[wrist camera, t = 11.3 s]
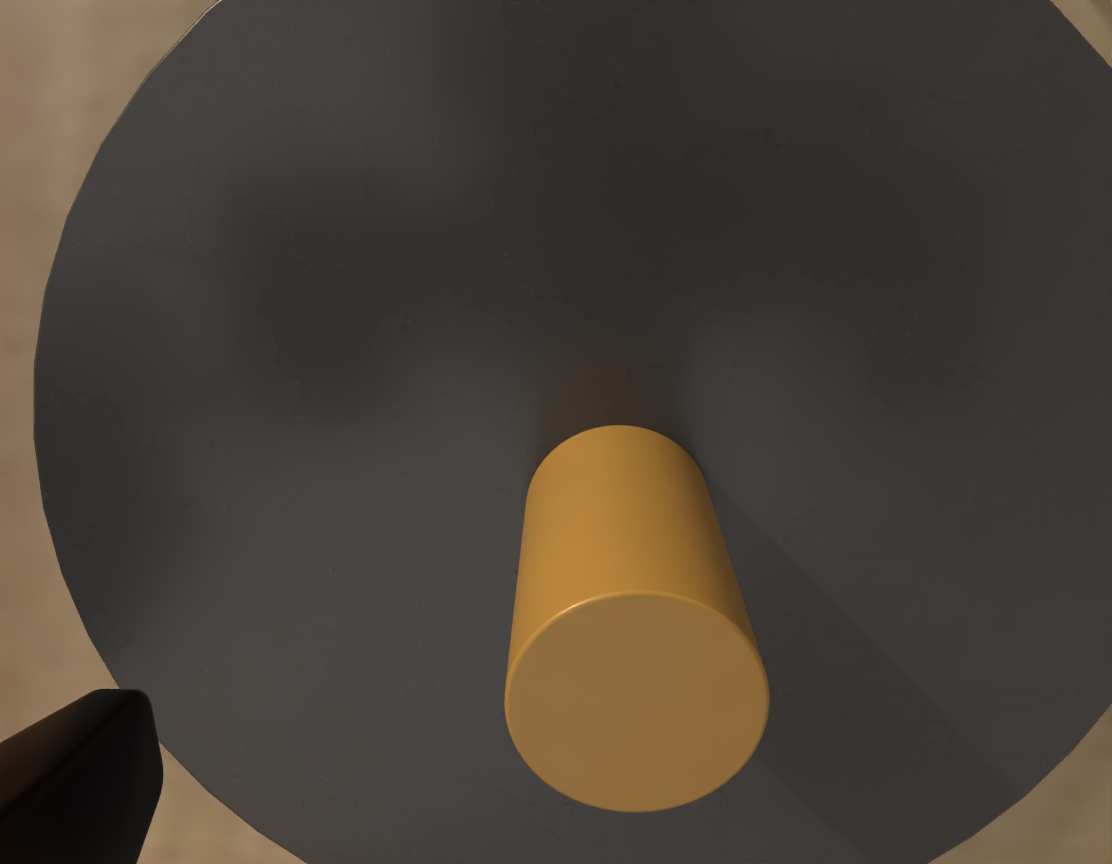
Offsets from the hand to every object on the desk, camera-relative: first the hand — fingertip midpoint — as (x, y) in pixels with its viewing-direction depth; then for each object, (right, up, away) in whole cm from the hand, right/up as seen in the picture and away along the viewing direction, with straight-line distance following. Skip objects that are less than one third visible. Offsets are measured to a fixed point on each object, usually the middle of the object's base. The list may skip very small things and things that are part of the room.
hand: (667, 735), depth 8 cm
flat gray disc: (0, +2, +5) cm, 5 cm away
